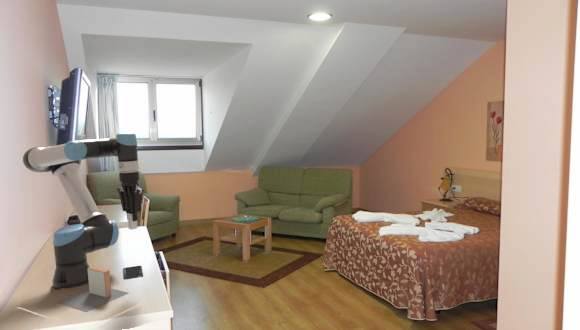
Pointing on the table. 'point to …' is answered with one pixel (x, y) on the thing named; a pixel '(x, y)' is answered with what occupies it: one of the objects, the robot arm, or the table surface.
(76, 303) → the mat
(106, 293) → the tile
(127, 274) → the phone
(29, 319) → the table surface
